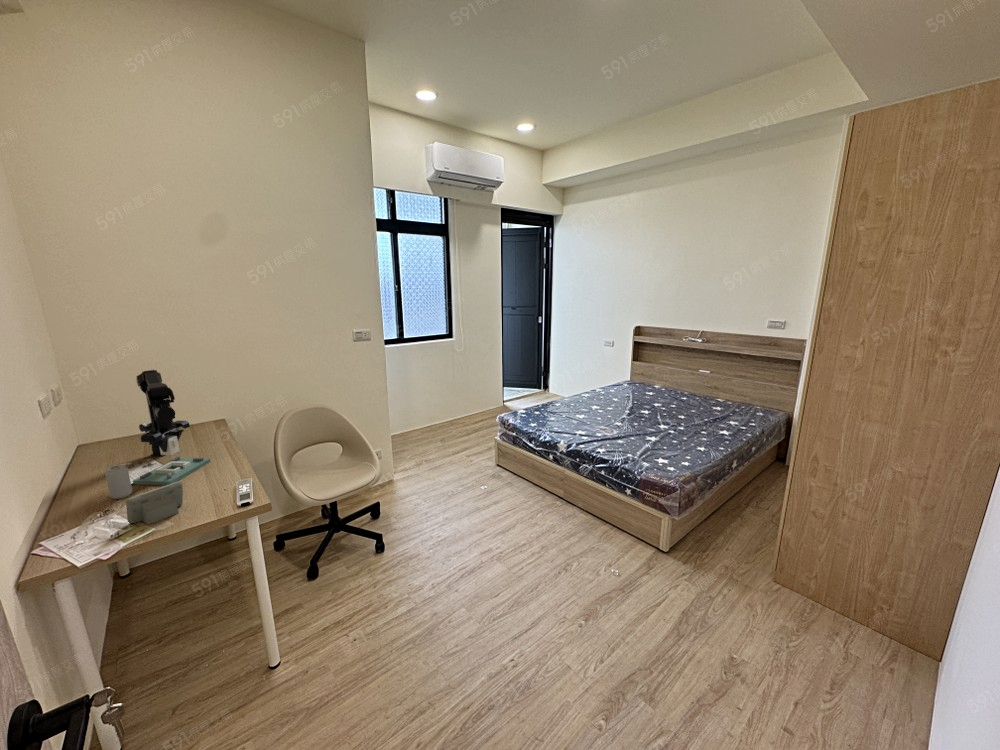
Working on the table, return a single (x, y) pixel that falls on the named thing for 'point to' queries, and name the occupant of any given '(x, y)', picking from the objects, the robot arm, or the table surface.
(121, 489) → the beverage can
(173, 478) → the board
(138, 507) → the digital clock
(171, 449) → the plug
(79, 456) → the table surface
